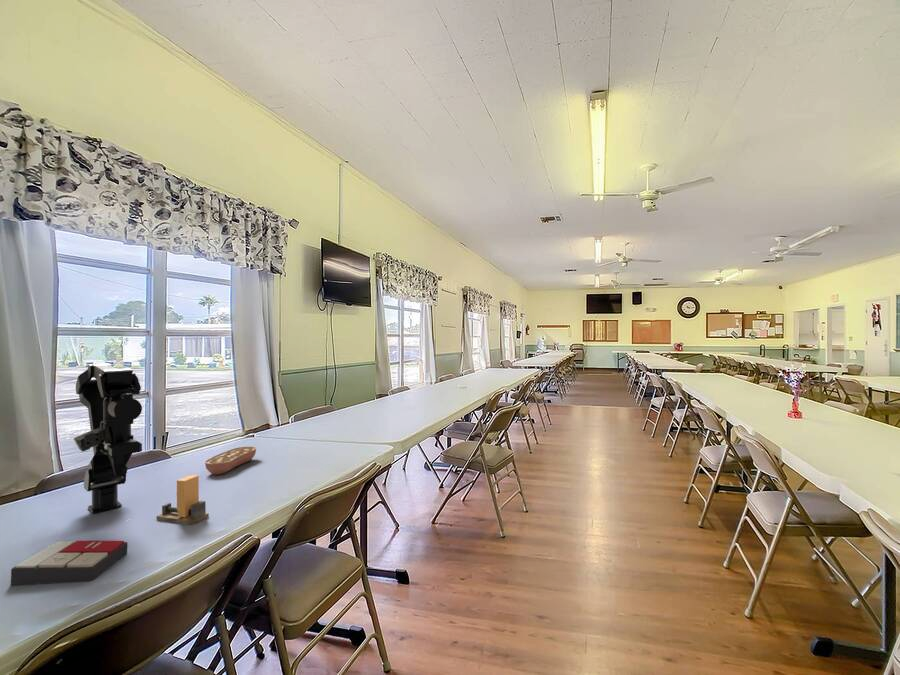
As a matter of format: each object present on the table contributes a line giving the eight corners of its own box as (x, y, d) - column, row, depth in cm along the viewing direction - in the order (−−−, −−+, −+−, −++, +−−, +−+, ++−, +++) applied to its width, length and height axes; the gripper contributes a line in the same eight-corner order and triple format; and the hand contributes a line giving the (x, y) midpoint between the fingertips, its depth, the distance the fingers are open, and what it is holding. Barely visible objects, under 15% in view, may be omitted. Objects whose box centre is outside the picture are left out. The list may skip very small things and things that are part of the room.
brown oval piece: (223, 478, 145) (223, 464, 145) (197, 477, 146) (196, 463, 146) (261, 459, 168) (260, 446, 168) (237, 458, 169) (237, 446, 169)
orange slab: (177, 516, 111) (176, 480, 111) (191, 510, 115) (191, 474, 115) (184, 517, 110) (184, 481, 110) (198, 510, 114) (198, 475, 114)
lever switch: (156, 519, 112) (156, 502, 112) (173, 512, 117) (173, 495, 117) (192, 525, 109) (192, 507, 109) (208, 517, 114) (208, 500, 114)
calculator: (92, 564, 84) (9, 565, 83) (91, 586, 84) (8, 587, 83) (128, 538, 95) (56, 538, 94) (128, 557, 95) (55, 557, 94)
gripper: (69, 417, 111) (70, 476, 111) (85, 426, 99) (86, 492, 99) (122, 411, 120) (122, 466, 120) (142, 419, 108) (142, 480, 108)
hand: (117, 475), depth 111 cm, fingers closed
